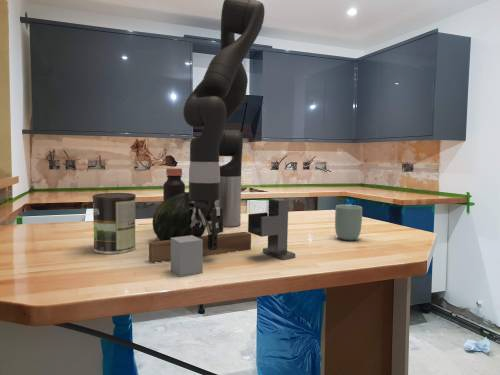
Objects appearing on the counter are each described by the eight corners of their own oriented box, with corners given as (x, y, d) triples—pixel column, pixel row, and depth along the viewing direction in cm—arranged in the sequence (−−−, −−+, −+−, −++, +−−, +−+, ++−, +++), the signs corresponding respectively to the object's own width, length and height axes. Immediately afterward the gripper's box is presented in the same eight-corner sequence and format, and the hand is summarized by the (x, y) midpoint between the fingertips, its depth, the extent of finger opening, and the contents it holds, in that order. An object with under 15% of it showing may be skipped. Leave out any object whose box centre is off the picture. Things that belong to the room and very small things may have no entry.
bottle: (183, 227, 122) (183, 168, 121) (186, 232, 116) (186, 169, 114) (162, 228, 120) (162, 168, 119) (164, 233, 114) (164, 168, 112)
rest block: (170, 270, 78) (170, 237, 77) (192, 266, 81) (192, 235, 80) (180, 276, 74) (180, 242, 73) (202, 272, 77) (202, 239, 76)
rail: (149, 261, 85) (148, 242, 85) (245, 248, 99) (245, 231, 98) (152, 264, 83) (152, 245, 82) (250, 250, 96) (251, 233, 96)
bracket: (244, 255, 91) (245, 199, 89) (275, 250, 96) (276, 197, 95) (264, 263, 84) (265, 203, 83) (295, 257, 89) (297, 200, 88)
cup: (362, 243, 106) (363, 208, 105) (334, 241, 107) (335, 207, 106) (359, 237, 113) (361, 205, 112) (333, 235, 115) (335, 204, 114)
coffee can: (93, 256, 88) (92, 197, 86) (93, 246, 97) (92, 193, 96) (138, 252, 92) (137, 196, 90) (134, 242, 101) (133, 192, 100)
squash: (149, 217, 110) (154, 183, 100) (197, 217, 116) (207, 184, 106) (152, 257, 101) (159, 224, 91) (205, 255, 107) (216, 223, 97)
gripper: (233, 182, 85) (232, 250, 87) (204, 178, 97) (204, 238, 98) (204, 182, 81) (204, 254, 82) (178, 179, 93) (178, 242, 94)
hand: (204, 246), depth 90 cm, fingers open, 8 cm apart
